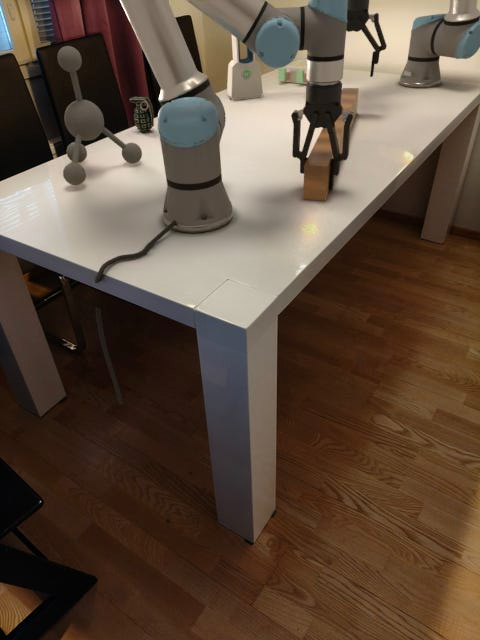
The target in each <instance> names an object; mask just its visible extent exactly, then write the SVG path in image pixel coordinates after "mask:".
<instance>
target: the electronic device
mask: <svg viewBox="0 0 480 640" xmlns="http://www.w3.org/2000/svg"><path fill="white" fill-rule="evenodd" d="M240 42H241V41H240V40H239V39H237V38H236V37H235V36H233V35H232V34H231V48H232V49H231V50H232V59H231V60H230V62H229V63H228V64H227V65H228V66H227V80H226V81H227V84H226V92H227V95H228V96H229V97H230V98H232V100H234V101H240V100H247V99H249V100H250V99H255V98H256V99H257V98H261V97H262V95H263V94H264V91H263V82H262V81H263V80H262V73H261V65H260V63H259V61H257V60H256V53H255V52H251V51H250V50H249V48H248V47H247V46H246V57H244V58H241V45H240V44H241V43H240Z"/></svg>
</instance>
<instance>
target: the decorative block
mask: <svg viewBox="0 0 480 640" xmlns="http://www.w3.org/2000/svg"><path fill="white" fill-rule="evenodd" d="M277 70H278V71H277V73H278V74H277V76H278V77H277V79H278V82H285V83H286V82H287V83H292V84H293V83H296V84H304V85H306V84H307V82H309V81H308V80H307V79H306V70H307V57H306V58H303V59H302V58H299V59H297V60H295V61H294V60H293V61H292V62H291V63H289V64H288V65H287V66H284V67H282V68H277Z"/></svg>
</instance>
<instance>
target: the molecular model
mask: <svg viewBox="0 0 480 640" xmlns="http://www.w3.org/2000/svg"><path fill="white" fill-rule="evenodd" d="M82 59H83V58H82V56H81V52H79V50H78V49H77V48H75V47H73V46H71V45H64V46H62V47H61V48H60V49H59V50H58V52H57V62H58V64H59V66H60V67H61V69H63V70H64V71H66V72H67V73H68V72H69V75H70V79H71V84H72V87H73V92H74V96H75V100H74V101H72V102H71V103H70V104H69V105H67V107H66V109H65V111H64V117H63V118H64V120H63V121H64V126H65V127H66V129H67V131H68V132H69V134H70V135H71V136H72V137H74V141H73V142H71V143H70V144H68V145H67V147H66V157H68V159H69V160H70V161H71V162H69V163H68V164H66V165H65V166H64V168H63V170H62V175H63V179H64V180H65V181H66V182H67V183H68V184H70V185H72V186H79V185H82V184H83V183H84V182H85V181H86V179H87V171H86V169H85V168H84V166H83V165H81V164H80V163H82V162H84V161H85V160H86V159H87V156H88V151H87V148H86V146H85V145H84V144H82V141H84V142H89V141H94V140H96V139H97V138H98V137H100V135H101V134H103V135H104V136H106V137H107V138H108V139H109V140H111V141H112V142H113V143H115V144H116V145H117V146H118V147H119V148H121V157H122V158H123V160H124V161H125V162H126V163H128V164H130V165H131V164H137V163H139V162H140V161H141V159H142V158H143V151H142V148H141V146H140V145H139V144H137V143H135V142H128V143H124V141H122V140H121V139H120V138H119V137H117V136H116V135H115V134H114V133H113V132H111V131H110V130H109V129H107V128H106V127H105V119H104V115H103V112H102V111H101V109H100V108H99V106H98V105H96V104H95V103H94V102H92V101H90V100H87V99H83V95H82V91H81V87H80V82H79V78H78V74H77V71H78V70H80V69H81V67H82V62H83V60H82Z"/></svg>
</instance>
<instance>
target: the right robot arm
mask: <svg viewBox="0 0 480 640" xmlns="http://www.w3.org/2000/svg"><path fill="white" fill-rule="evenodd" d="M477 6H478V0H449V11H448V12H447V13H437V14H429V15H421V16H418V17H416V18H415V19H414V20H413V22H412V27H411V30H410V37H409V39H410V40H409V47H408V54H407V60H406V63H405V65H404V68H403V70H402V72H401V75H400V77H399V84H400V85H401V86H404V87H409V88H434V87H437V86H439V85H440V84H441V80H442V76H441V69H440V68H441V67H440V57H445V58H450V59H455V60H467V59H471V58H472V57H473V56H474V55H476V53H477V52H478V51H479V49H480V10H479V9H478V7H477ZM369 9H370V0H348V1H347V20H348V21H347V28H346V32H347V33H350V32H357V33H358V32H360V31H361V32H362V33H363V34H364V36H365V38H366V39H367V40H368V42H369V44H370V45H371V47H372V48H373V51H372V57H371V63H370V65H371V66H370V74H369V77H370V78H372V77H374V72H375V71H374V70H375V65H378V64H379V60H380V54H381V52H382V51H385V50H386V49H387V47H388V46H387V42H386V39H385V36H384V33H383V30H382V27H381V25H380V14H379V12H375V13H371V14H370V13H369ZM369 20H370V21H371V23H373V25H374V28H375V32H376V34H377V38H378V41H379V43H380V45H379V43H378V41H376V39H375V37H374V36H373V35H372V33H371V31H370V30H369V28H368V26H367V25H366V24H367V23H368V21H369Z"/></svg>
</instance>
